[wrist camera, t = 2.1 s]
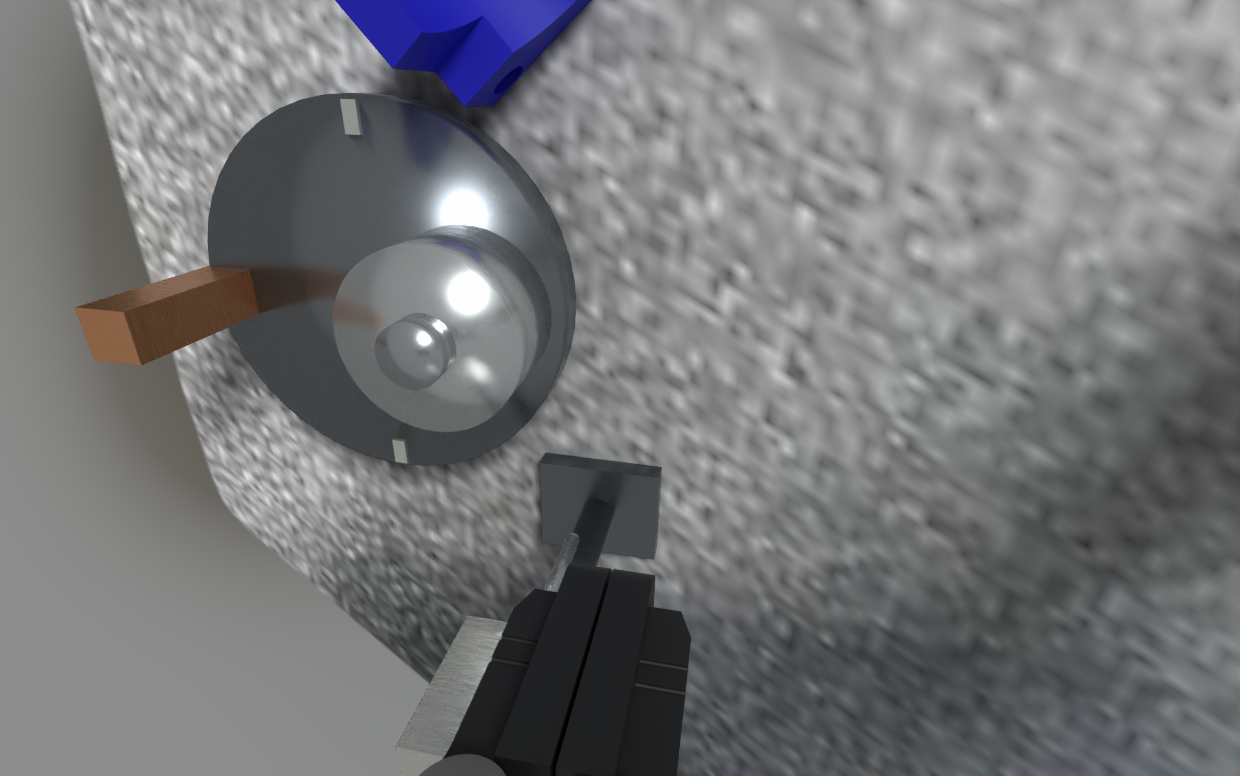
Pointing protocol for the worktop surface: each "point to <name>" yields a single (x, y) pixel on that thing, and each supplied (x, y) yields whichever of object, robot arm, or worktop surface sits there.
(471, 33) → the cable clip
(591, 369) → the worktop surface
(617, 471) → the grey stand with block
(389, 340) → the cover
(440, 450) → the grey pot lid
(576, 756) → the robot arm
